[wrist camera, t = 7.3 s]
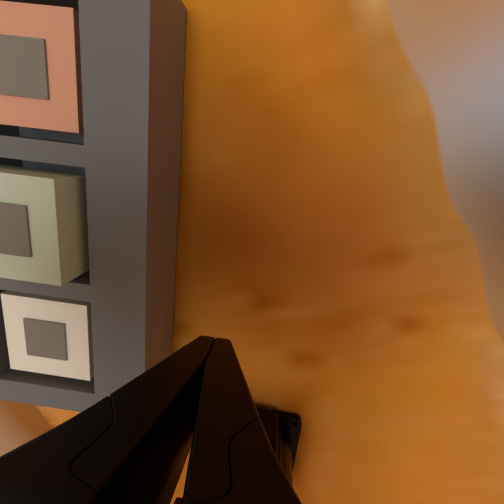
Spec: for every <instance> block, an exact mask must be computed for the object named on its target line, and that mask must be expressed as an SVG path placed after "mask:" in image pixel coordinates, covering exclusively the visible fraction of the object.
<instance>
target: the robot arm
mask: <svg viewBox="0 0 504 504" xmlns="http://www.w3.org/2000/svg"><path fill="white" fill-rule="evenodd" d="M293 421H296V422H293ZM301 426H302V423H301V418H300V416H298V415H296V414H289V413H283V412H276V411H270V410H263V409H257V408H256V406H255V404H254V401H253V398H252V396H251V393H250V391H249V388H248V385H247V383H246V380H245V377H244V375H243V372H242V369H241V367H240V364H239V361H238V359H237V356H236V353H235V351H234V348H233V346H232V343H231V341H230V340H229V339H224V338H216V339H215V338H214V337H209V336H199V337H198V338H196V339H195V340H193V341H192V342H190V343H189V344H187V345H185V346H184V347H182V348H181V349H179V350H178V351H176V352H175V353H173V354H172V355H170V356H168V357H167V358H165V359H164V360H162V361H161V362H159V363H158V364H156V365H154V366H153V367H151V368H150V369H148V370H147V371H145V372H144V373H142V374H140V375H139V376H137V377H136V378H134V379H133V380H131V381H130V382H128V383H126V384H125V385H123V386H122V387H120V388H119V389H117V390H116V391H114V392H112V393H111V394H110V396H106V397H105V398H103V399H101V400H100V401H98V402H97V403H95V404H94V405H92V406H90V407H89V408H87V409H85V410H84V411H82V412H81V413H79V414H77V415H76V416H74V417H72V418H71V419H69V420H67V421H65V422H63V423H62V424H60V425H58V426H56V427H55V428H53V429H51V430H49V431H48V432H46V433H44V434H42V435H40V436H38V437H36V438H34V439H33V440H31V441H29V442H27V443H25V444H23V445H21V446H19V447H18V448H16V449H14V450H12V451H10V452H8V453H6V454H5V455H3V456H1V457H0V504H170V502H171V499H172V497H173V494H174V491H175V488H176V486H177V483H178V480H179V478H180V475H181V472H182V470H183V467H184V464H185V461H186V459H187V456H188V453H189V451H190V448H191V451H190V457H189V463H188V469H187V475H186V482H185V488H184V494H183V498H180V497H177V498H176V500H175V502H174V504H302V503H301V502H300V500H299V498H298V496H297V494H296V492H295V491H294V489H293V477H292V470H293V465H294V460H295V455H296V450H297V445H298V440H299V435H300V431H301Z"/></svg>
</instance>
